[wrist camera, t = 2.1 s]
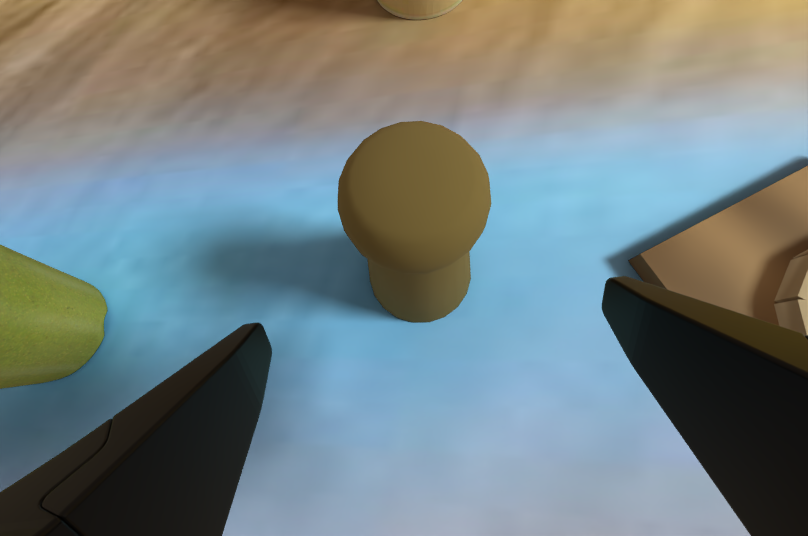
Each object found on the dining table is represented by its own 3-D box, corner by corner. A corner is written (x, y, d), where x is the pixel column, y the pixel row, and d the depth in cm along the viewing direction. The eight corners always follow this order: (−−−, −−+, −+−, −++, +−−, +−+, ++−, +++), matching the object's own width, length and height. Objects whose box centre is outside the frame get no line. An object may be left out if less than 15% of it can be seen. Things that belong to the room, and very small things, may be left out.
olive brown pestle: (465, 330, 20) (507, 282, 9) (361, 315, 20) (290, 254, 10) (475, 231, 21) (521, 96, 11) (378, 220, 22) (334, 82, 12)
